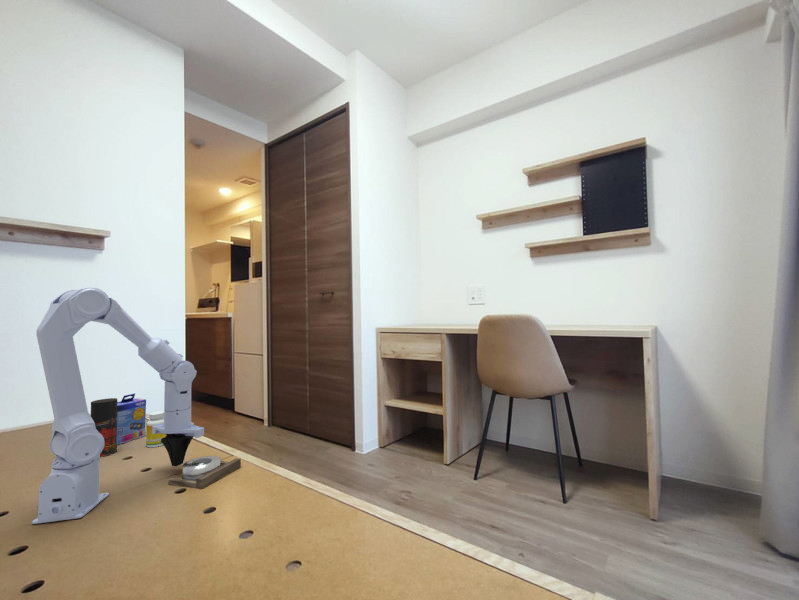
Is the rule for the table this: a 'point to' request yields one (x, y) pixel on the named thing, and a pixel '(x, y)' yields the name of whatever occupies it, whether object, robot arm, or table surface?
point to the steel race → (199, 467)
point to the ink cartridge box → (130, 419)
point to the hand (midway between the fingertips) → (177, 464)
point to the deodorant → (106, 423)
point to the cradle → (209, 475)
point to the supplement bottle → (151, 439)
